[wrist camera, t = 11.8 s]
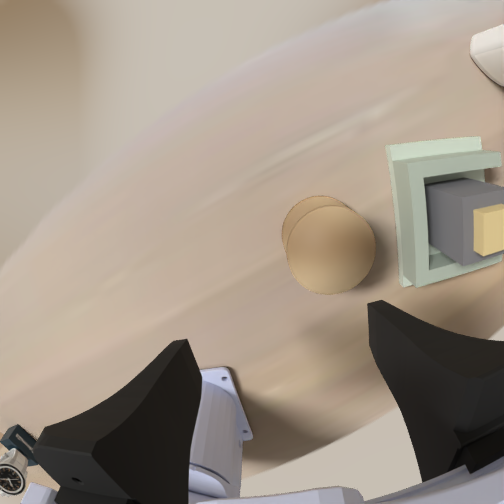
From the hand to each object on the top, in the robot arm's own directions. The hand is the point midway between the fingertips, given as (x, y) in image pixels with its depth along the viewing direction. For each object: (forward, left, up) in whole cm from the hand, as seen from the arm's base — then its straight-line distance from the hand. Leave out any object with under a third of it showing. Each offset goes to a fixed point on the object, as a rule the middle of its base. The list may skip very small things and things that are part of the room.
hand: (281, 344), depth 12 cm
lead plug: (+1, -13, -9) cm, 16 cm away
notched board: (+1, -13, -10) cm, 16 cm away
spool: (+1, -4, -10) cm, 11 cm away
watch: (-20, +39, -10) cm, 45 cm away
